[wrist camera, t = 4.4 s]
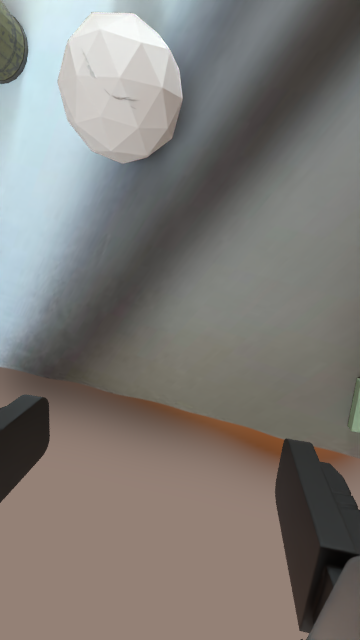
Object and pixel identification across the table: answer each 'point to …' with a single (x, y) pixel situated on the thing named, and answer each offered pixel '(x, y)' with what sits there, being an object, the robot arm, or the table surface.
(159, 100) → the geodesic sphere
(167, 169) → the table surface
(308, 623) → the robot arm
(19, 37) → the green handled vase
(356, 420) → the green pillar
